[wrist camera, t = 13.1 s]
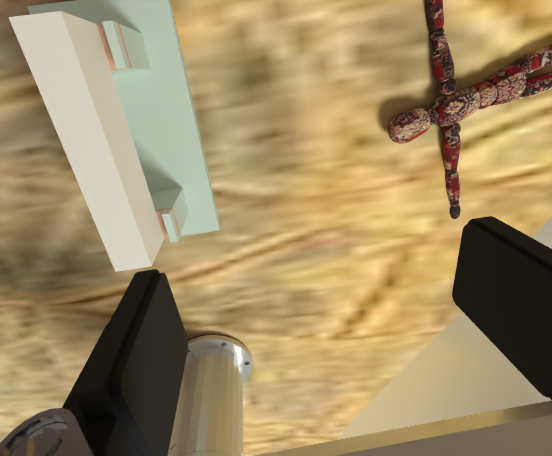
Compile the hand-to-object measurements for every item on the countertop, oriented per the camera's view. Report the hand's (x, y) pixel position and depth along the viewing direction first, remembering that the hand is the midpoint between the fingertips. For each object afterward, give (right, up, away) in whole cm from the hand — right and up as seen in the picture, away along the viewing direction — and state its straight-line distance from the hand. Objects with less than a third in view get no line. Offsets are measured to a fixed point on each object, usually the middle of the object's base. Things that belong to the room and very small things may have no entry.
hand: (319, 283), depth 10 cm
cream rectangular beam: (-15, +8, +17) cm, 24 cm away
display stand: (-16, +12, +24) cm, 31 cm away
